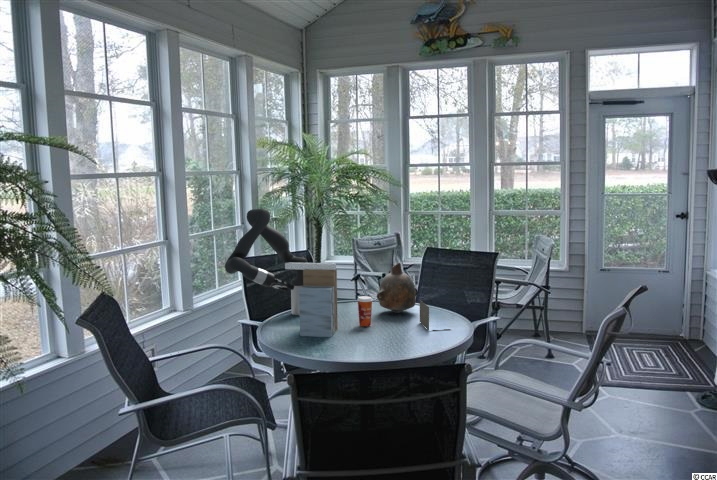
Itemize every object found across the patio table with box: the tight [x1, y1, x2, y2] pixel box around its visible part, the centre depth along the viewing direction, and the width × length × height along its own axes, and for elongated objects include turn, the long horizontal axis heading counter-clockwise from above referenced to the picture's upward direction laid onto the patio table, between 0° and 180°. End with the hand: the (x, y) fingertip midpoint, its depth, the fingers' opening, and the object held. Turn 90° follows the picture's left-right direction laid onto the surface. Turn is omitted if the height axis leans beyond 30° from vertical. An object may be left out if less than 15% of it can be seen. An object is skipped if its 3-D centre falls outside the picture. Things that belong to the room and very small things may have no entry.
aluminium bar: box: [284, 262, 337, 270], centre depth 293 cm, size 4×26×3 cm, turn 80°
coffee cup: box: [356, 295, 373, 327], centre depth 304 cm, size 8×8×15 cm
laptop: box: [419, 299, 430, 331], centre depth 301 cm, size 18×12×13 cm
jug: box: [376, 262, 418, 314], centre depth 330 cm, size 24×21×30 cm
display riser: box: [299, 268, 339, 338], centre depth 290 cm, size 15×16×32 cm
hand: (290, 288), depth 298 cm, fingers open, 8 cm apart
